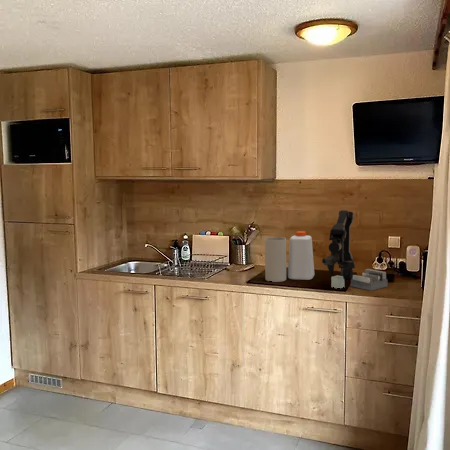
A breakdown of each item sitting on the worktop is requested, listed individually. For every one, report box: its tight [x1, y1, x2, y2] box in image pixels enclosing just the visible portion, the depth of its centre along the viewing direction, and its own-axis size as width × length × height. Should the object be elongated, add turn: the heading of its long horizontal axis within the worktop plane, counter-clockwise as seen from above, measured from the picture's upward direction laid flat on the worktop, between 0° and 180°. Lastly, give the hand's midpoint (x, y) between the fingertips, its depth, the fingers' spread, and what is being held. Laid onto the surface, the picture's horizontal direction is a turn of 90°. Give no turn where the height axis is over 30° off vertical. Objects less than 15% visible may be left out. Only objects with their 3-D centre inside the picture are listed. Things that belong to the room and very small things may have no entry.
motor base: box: [350, 268, 388, 292], centre depth 278 cm, size 14×14×8 cm
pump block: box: [330, 275, 345, 289], centre depth 278 cm, size 5×5×6 cm
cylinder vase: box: [264, 236, 287, 283], centre depth 298 cm, size 12×12×25 cm
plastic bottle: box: [287, 230, 315, 281], centre depth 303 cm, size 15×15×28 cm
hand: (338, 277), depth 278 cm, fingers open, 9 cm apart
